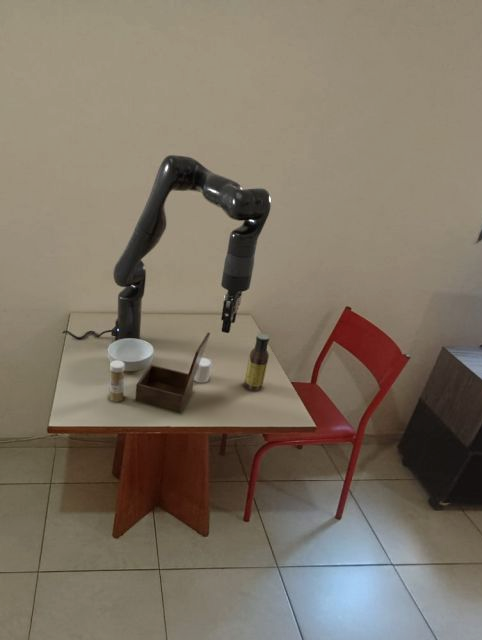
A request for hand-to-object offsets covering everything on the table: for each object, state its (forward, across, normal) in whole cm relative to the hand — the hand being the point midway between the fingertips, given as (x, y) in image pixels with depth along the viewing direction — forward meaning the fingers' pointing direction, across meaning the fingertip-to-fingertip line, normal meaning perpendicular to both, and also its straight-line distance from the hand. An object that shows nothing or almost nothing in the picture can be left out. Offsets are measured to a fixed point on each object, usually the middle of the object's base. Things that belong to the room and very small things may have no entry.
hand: (228, 326), depth 126 cm
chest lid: (+15, 0, -8) cm, 17 cm away
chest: (+30, 0, -17) cm, 34 cm away
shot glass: (+30, -16, -9) cm, 35 cm away
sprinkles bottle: (+30, +8, -31) cm, 44 cm away
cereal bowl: (+30, -13, -35) cm, 48 cm away
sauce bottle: (+30, -19, +9) cm, 37 cm away
